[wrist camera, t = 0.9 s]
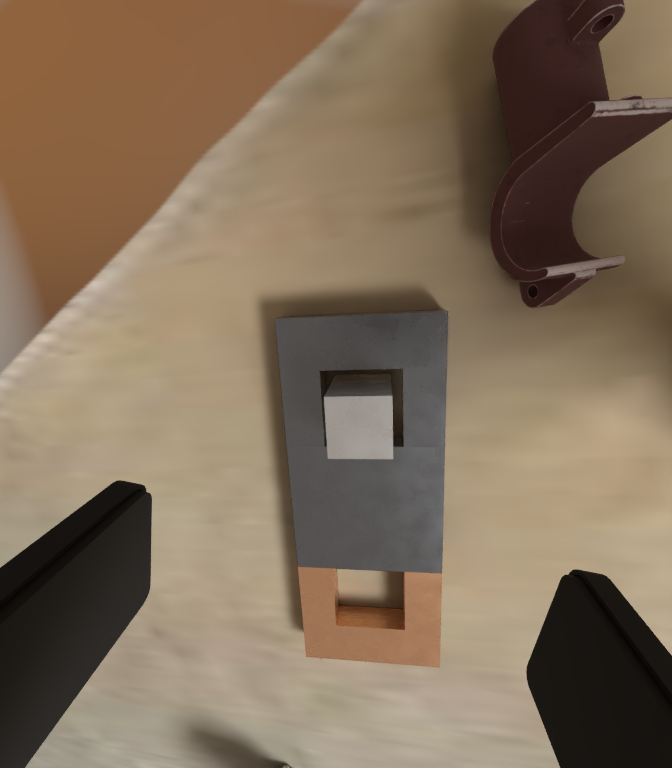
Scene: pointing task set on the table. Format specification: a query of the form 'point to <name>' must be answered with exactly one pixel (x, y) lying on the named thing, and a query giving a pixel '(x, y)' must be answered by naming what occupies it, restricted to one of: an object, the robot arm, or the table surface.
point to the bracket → (558, 140)
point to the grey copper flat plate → (368, 484)
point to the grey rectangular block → (359, 417)
